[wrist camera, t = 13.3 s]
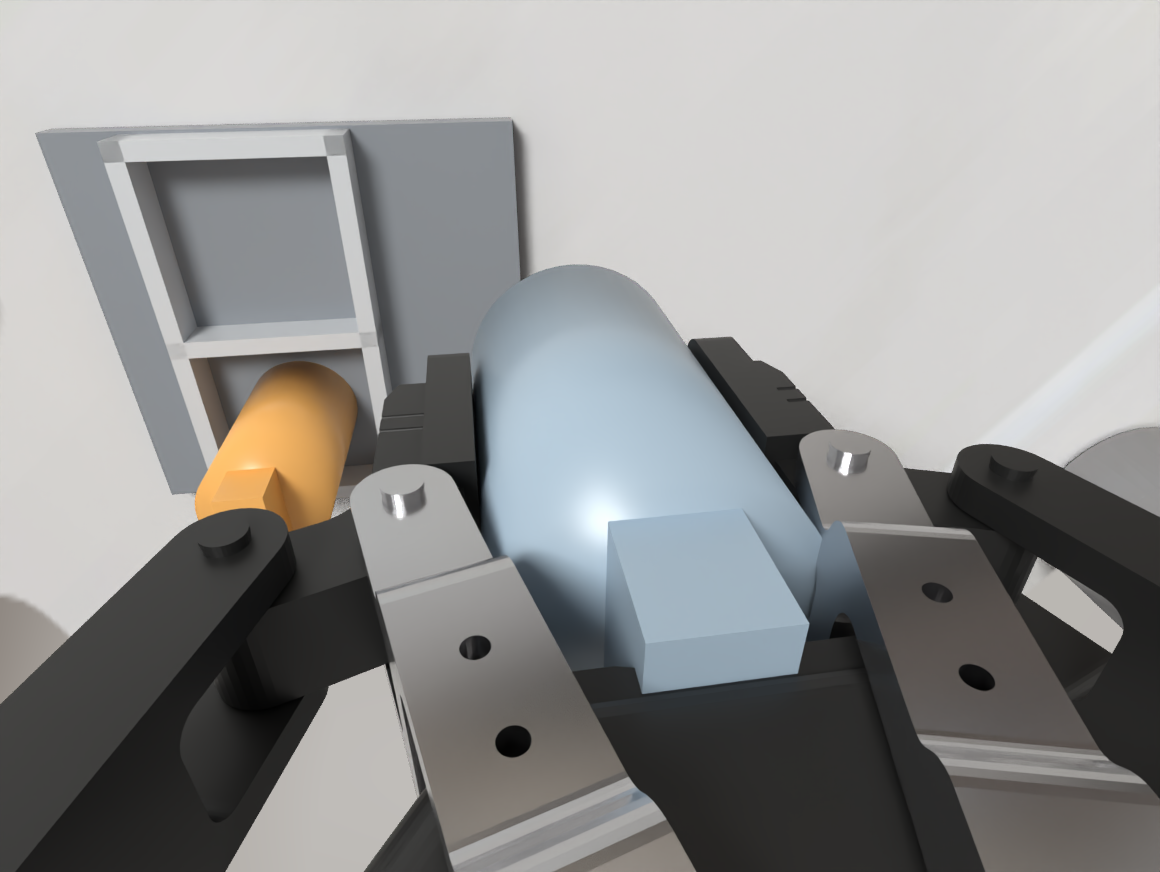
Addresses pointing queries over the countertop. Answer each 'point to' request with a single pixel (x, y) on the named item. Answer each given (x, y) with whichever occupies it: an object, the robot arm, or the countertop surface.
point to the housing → (286, 260)
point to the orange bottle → (285, 447)
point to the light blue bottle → (633, 490)
